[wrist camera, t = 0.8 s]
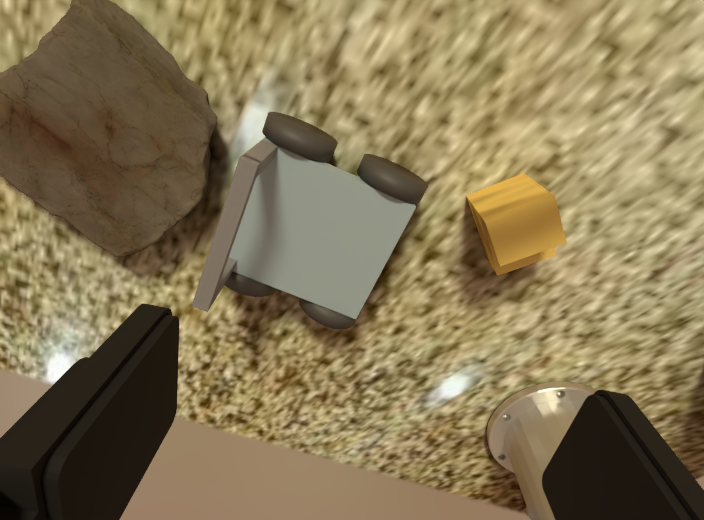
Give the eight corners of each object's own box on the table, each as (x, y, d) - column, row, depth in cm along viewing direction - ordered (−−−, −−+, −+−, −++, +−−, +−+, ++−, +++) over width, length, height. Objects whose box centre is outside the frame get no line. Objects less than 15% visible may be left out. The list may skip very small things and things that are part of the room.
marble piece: (-37, 107, 31) (-92, 113, 28) (70, -54, 27) (22, -73, 23) (144, 259, 36) (119, 282, 33) (260, 145, 32) (246, 156, 28)
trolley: (423, 176, 32) (445, 222, 23) (356, 303, 37) (353, 382, 28) (276, 108, 30) (237, 129, 21) (226, 252, 36) (179, 319, 26)
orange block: (541, 239, 34) (574, 273, 29) (487, 259, 35) (509, 295, 30) (522, 172, 32) (554, 196, 27) (465, 195, 33) (485, 222, 28)
